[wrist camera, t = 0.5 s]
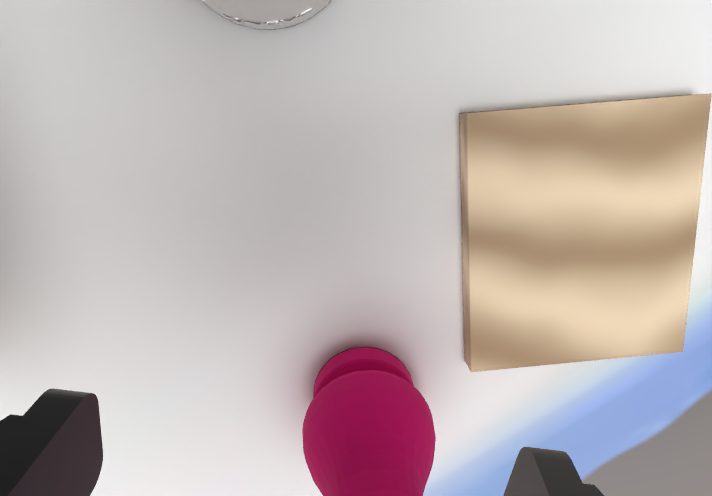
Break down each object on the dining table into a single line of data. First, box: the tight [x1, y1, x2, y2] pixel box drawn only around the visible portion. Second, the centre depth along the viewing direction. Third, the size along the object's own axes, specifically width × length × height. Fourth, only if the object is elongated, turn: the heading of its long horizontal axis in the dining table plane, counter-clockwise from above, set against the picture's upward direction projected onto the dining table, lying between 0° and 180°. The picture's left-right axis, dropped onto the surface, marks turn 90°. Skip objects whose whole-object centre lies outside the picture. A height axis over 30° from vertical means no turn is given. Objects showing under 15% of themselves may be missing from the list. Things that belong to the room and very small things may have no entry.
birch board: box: [459, 94, 711, 372], centre depth 29 cm, size 15×13×2 cm
